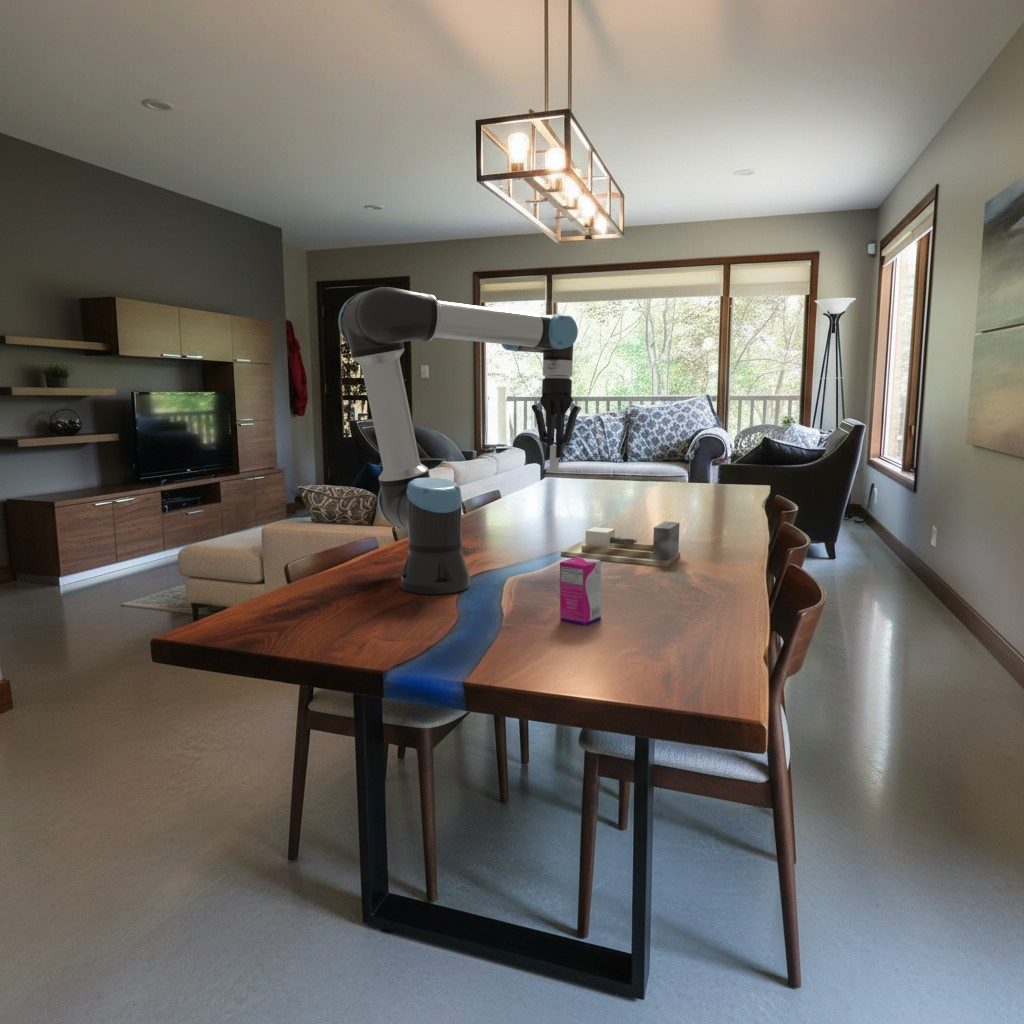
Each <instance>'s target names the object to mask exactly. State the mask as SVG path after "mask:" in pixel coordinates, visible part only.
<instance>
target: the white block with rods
mask: <svg viewBox="0 0 1024 1024" xmlns="http://www.w3.org/2000/svg"><path fill="white" fill-rule="evenodd" d="M634 539H635V538H627V537H625V538H624V537H621V536H617V537H616V529H615V528H607V527H595V526H593V527H591V528H589V529H586V530H585V543H586V544H585V545H586V546H597V547H607V548H614V546H615V544H625V545H634Z"/></svg>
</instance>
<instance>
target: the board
mask: <svg viewBox="0 0 1024 1024" xmlns="http://www.w3.org/2000/svg"><path fill="white" fill-rule="evenodd" d="M679 542H680V522H675V521H674V522H673V521H662V522H660V523H659V524H657V525H655V526H654V527H653V542H652V544H651V543H642V542H641V543H639V542H637V543H634V545H625V544H615V546H614V548H607V547H597V546H586V545H585V544H586V541H585V542H584V541H583V542H582V541H580V542H578V543H575V544H574V545H572V546H569V547H567V548H566V549H563V550H561V551H560V557H566V556H569V557H568V558H575V557H581V558H587V559H595V560H601V561H605V562H614V563H626V564H633V565H635V564H636V565H645V566H651V567H652V566H654V567H662V568H664V567H665V568H667V567H668V566H670V565H671V564H672V563H673V562H675V561H676V560H677V559H678V558H680V557H681V551H680V550H679V548H680V546H679V544H680V543H679Z"/></svg>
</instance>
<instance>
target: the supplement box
mask: <svg viewBox="0 0 1024 1024" xmlns="http://www.w3.org/2000/svg"><path fill="white" fill-rule="evenodd" d="M601 562H602V560H595V559H587V558H581V557H571V558H570V559H566V560H564V561H560V562H559V601H560V602H559V604H560V605H559V610H560V611H559V612H560V613H559V614H560V619H559V620H560V621H562V622H566V623H570V624H573V625H574V624H575V625H578V626H582V627H585V626H588V625H591V624H592V623H595V622H598V621H600V620H601V619H602V588H601V587H602V583H601V582H602V578H601V577H602V575H601V574H602V572H601V571H602V566H601V565H602V563H601Z"/></svg>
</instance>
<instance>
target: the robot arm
mask: <svg viewBox="0 0 1024 1024" xmlns="http://www.w3.org/2000/svg"><path fill="white" fill-rule="evenodd" d="M337 322H338V328H339V331H340V334H341V336H342V338H343V339H344V340H345V342H347V343H348V344H349V345H348V346H349V349H350V354H351V358H352V360H353V361H354V362H356V363H358V365H360V366H361V373H362V376H363V381H364V385H365V390H366V395H367V399H368V405H369V409H370V412H371V418H372V423H373V427H374V432H375V437H376V441H377V446H378V450H379V455H380V460H381V463H382V472H381V473H380V475H379V476H378V483H379V486H380V490H379V491H378V494H377V495H378V496H377V505H378V509H379V510H378V511H380V514H381V516H382V517H383V518H384V519H385V521H386V522H388V523H389V524H391V525H392V526H395V527H396V528H397V529H402V530H405V531H407V534H408V535H407V542H408V554H407V557H406V560H405V563H404V566H403V569H402V572H401V573H402V574H401V577H400V588H401V589H402V590H404V591H406V592H409V593H412V594H413V593H414V594H419V595H444V594H445V595H446V594H453V593H454V594H455V593H459V592H462V591H464V590H466V589H468V588H469V587H470V586H471V577H470V576H471V575H470V572H469V569H468V566H467V563H466V561H465V557H464V554H463V552H462V551H463V550H462V547H463V546H462V544H463V543H462V541H463V540H462V538H463V537H462V531H463V529H462V527H463V526H462V524H463V523H462V519H463V518H462V516H463V515H462V514H463V513H462V509H463V508H462V507H463V506H462V505H463V498H462V490H461V487H460V486H459V484H458V483H456V482H455V481H454V480H451V479H447V478H440V477H431V476H430V471H429V468H428V467H427V466H426V465H424V464H422V462H421V460H420V455H419V451H418V445H417V442H416V441H417V440H416V435H415V430H414V425H413V420H412V415H411V410H410V406H409V401H408V395H407V391H406V386H405V381H404V375H403V372H402V371H403V370H402V366H401V361H400V358H401V356H402V354H404V351H405V346H404V342H412V341H413V342H414V341H419V342H420V341H421V342H430V341H432V340H433V339H434V338H437V339H447V340H459V341H467V342H468V341H469V342H480V343H488V344H497V345H498V344H499V345H500V346H501V347H502V348H503V349H504V350H505V351H513V352H514V353H515V352H522V353H540V354H542V376H543V377H544V378H542V382H541V383H542V384H541V397H540V399H539V402H537V403H536V404H532V405H531V409H532V411H533V413H534V416H535V420H536V427H537V433H538V437H539V441H540V442H541V443H544V444H545V445H546V457H547V458H549V472H557V471H558V472H559V467H560V464H559V463H560V459H561V458H562V457H563V451H564V450H563V449H564V445H566V444H570V442H571V439H572V435H573V432H574V429H575V424H576V421H577V417H578V414H580V412H581V410H582V407H581V406H580V405H577V404H575V403H574V400H573V397H572V391H573V390H572V386H573V380H572V379H571V377H573V367H574V365H573V363H574V362H573V359H574V358H573V357H574V345H575V344H574V343H576V341H577V338H578V334H579V332H578V325H577V323H576V321H575V319H574V318H573V316H572V315H569V314H559V313H557V314H543V313H534V312H529V311H528V312H527V311H521V310H519V311H518V310H512V309H505V308H504V309H503V308H497V307H490V306H489V307H488V306H482V305H473V304H467V303H466V304H465V303H459V302H451V301H450V302H449V301H443V300H438V299H437V298H436V296H435V295H433V294H429V293H422V292H417V291H411V290H406V289H401V288H396V287H388V286H379V287H376V288H372V289H370V290H366V291H362V292H359V293H358V292H357V293H356V294H354V295H353V296H351V297H349V299H347V300H346V301H345V302H344V304H343V305H342V306H341V309H340V310H339V314H338V320H337ZM543 410H544V411H545V412H546V424H545V418H544V413H543ZM568 410H569V411H570V413H569V415H568V419H567V422H566V425H565V419H566V413H567V411H568ZM555 422H556V423H555ZM555 426H556V427H555ZM555 428H556V429H555ZM555 432H556V433H555Z"/></svg>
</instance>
